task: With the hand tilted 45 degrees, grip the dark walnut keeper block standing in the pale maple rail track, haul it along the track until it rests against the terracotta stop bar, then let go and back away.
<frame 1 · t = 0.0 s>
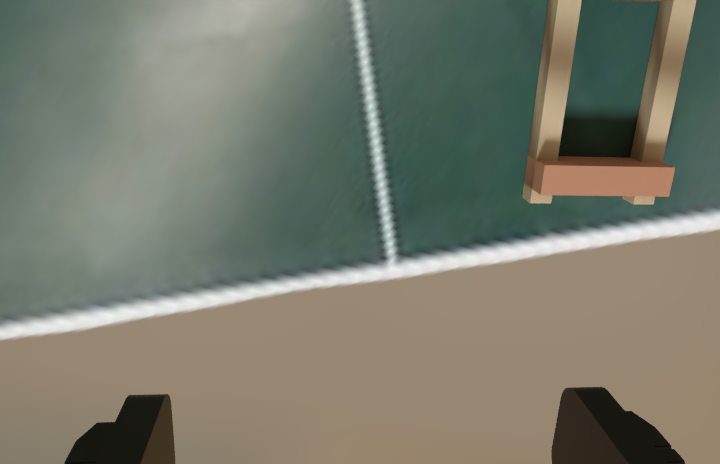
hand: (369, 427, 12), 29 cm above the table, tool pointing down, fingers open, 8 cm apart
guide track: (607, 49, 39), on the table
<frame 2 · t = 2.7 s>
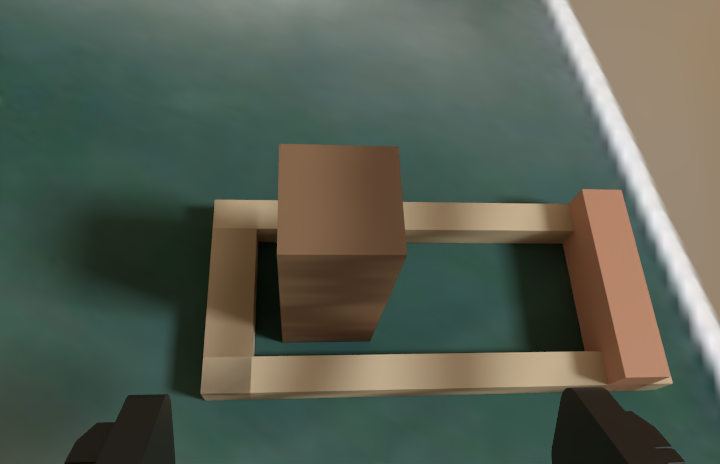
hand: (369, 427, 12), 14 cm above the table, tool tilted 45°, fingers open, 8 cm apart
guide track: (429, 299, 28), on the table
keeper block: (325, 300, 28), resting in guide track
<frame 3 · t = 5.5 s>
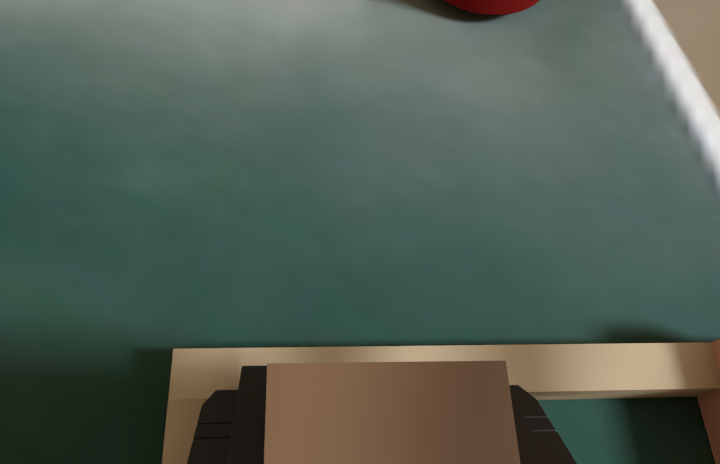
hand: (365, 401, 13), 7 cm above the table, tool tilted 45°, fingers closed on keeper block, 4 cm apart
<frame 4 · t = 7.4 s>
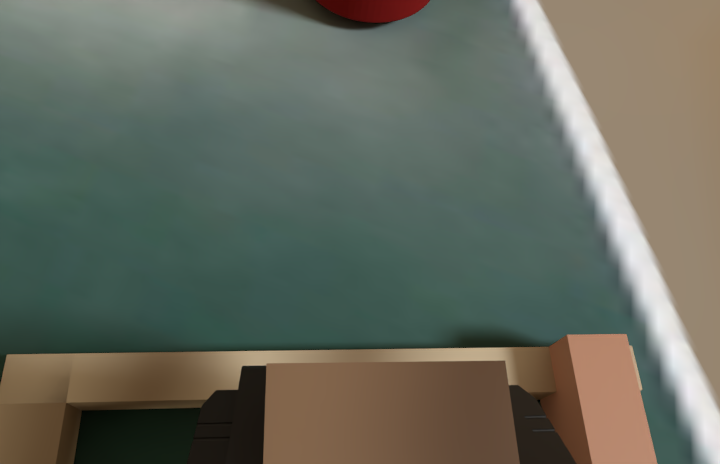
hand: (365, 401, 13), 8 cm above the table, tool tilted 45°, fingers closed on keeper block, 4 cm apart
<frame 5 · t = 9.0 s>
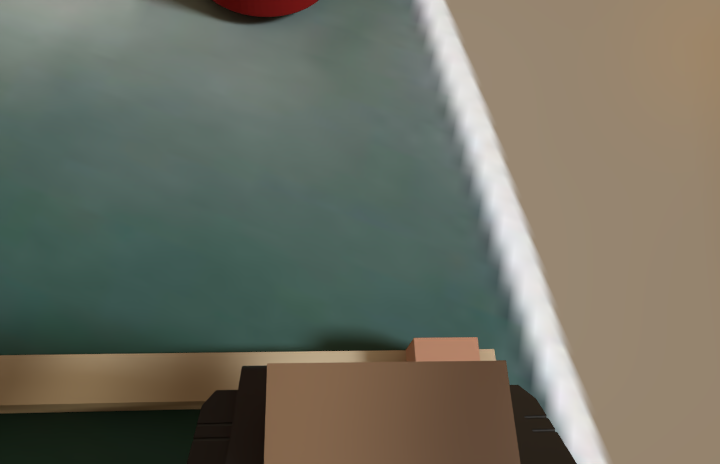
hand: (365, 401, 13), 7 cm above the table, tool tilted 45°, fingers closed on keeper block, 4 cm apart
when the fingers open (7 cm above the table, at t = 9.6 s): keeper block stays where it is, resting in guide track.
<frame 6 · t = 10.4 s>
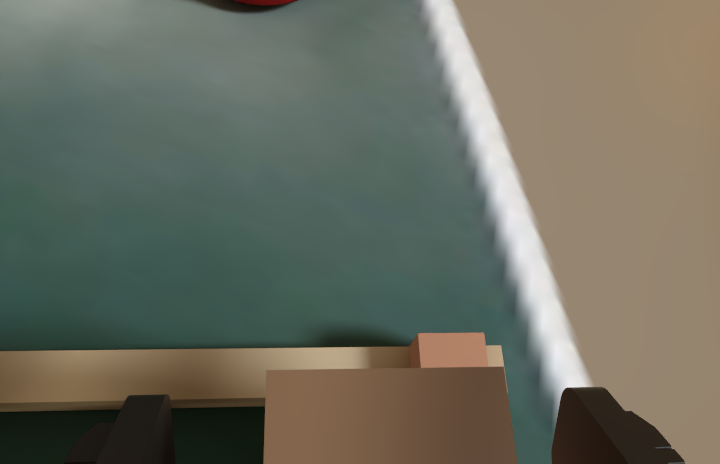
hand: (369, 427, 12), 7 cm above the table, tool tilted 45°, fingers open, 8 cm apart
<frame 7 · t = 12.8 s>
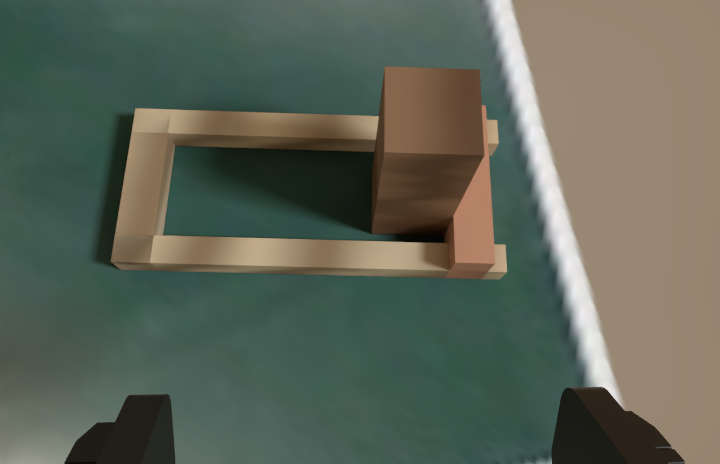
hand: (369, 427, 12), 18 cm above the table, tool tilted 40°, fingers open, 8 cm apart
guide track: (315, 197, 33), on the table
keeper block: (407, 201, 34), resting in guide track
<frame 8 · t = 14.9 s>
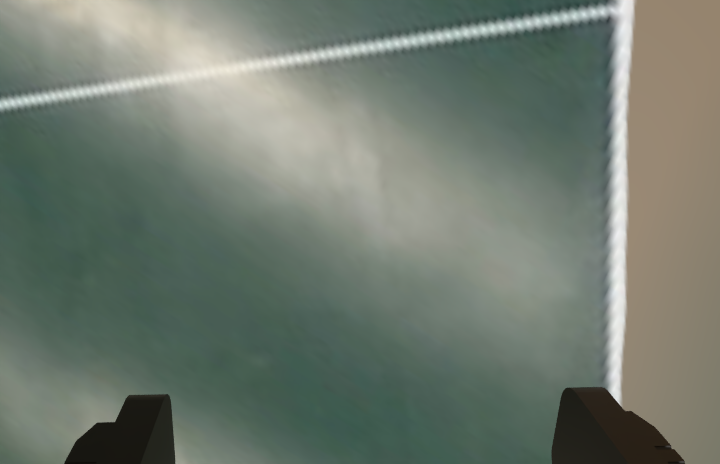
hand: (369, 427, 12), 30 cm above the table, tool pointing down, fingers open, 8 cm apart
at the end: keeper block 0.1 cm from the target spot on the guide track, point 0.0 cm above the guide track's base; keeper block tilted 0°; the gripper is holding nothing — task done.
